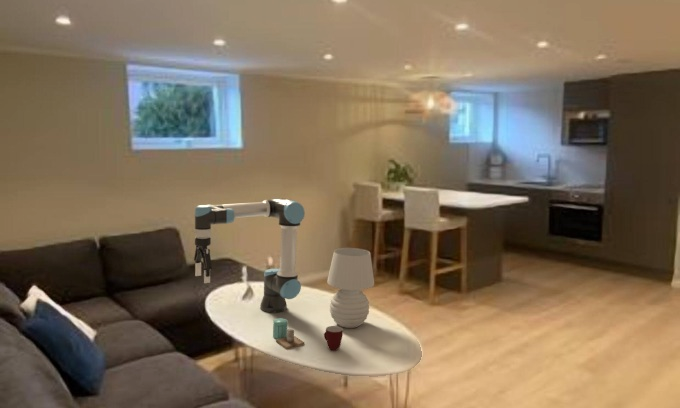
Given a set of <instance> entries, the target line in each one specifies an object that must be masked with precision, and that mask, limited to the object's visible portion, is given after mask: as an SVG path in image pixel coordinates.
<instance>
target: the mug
mask: <svg viewBox="0 0 680 408" xmlns="http://www.w3.org/2000/svg"><path fill="white" fill-rule="evenodd" d="M343 333H344V329H343V327H341V326H339V325H337V326H336V325H331V326H327V327H326V328H325V332H324V334H323V335H324V336H323V337H324V340H325V341H326V344H327V348H328V349H329V351H332V352H333V351H339V348H340V346H341V344H342V339H343V335H344V334H343Z"/></svg>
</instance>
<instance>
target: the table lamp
mask: <svg viewBox="0 0 680 408" xmlns="http://www.w3.org/2000/svg"><path fill="white" fill-rule="evenodd" d="M373 271H374V270H373V263H372V255H371V252H370V251H369V250H367V249H363V248H356V247H355V248H354V247H342V248H340V247H339V248H337V249H334V251H333V255H332V258H331V263H330V267H329V272H328V276H327V281H326V283H327V284H328V285H329V286H330V287H333V288H336V289H338V290H337V291H336V292H335V293H334V294H333V296H332V297H331V299H330V303H329V312H330V316H331V318H332V319H333V321H334V322H335V323H336V324H337V326H339V327H341V328H346V329H353V328H358V327H359V326H361V325H362V324H363V323H365V321H366V320H367V318H368V316H369V312H370V301H369V299H368V297H367V295H366V294H365V293H364V292H363V291H364V290H367V289H368V290H369V289H371V288H373V287H374V286H375V279H374V277H375V276H374V272H373ZM362 290H363V291H362Z"/></svg>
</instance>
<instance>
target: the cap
mask: <svg viewBox="0 0 680 408" xmlns="http://www.w3.org/2000/svg"><path fill="white" fill-rule="evenodd" d="M272 324H273V325H272V326H273V327H272V338H273V339H275V340H276V339H280V338H285V337H287V329H288V320H287V319H286V318H281V317H280V318H279V317H278V318H275V319H273V323H272Z"/></svg>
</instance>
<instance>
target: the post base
mask: <svg viewBox="0 0 680 408" xmlns="http://www.w3.org/2000/svg"><path fill="white" fill-rule="evenodd" d="M275 342H276V343H277V344H279V345H280V346H281V347H283V348H284V349H285V350H287V349H293V348H296V347H301V346H304V345H305V341H303V340H301V339H300V338H299V337H297V336H296V335H295V329H294V328H287V337H285V338H280V339H276V338H275Z"/></svg>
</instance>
